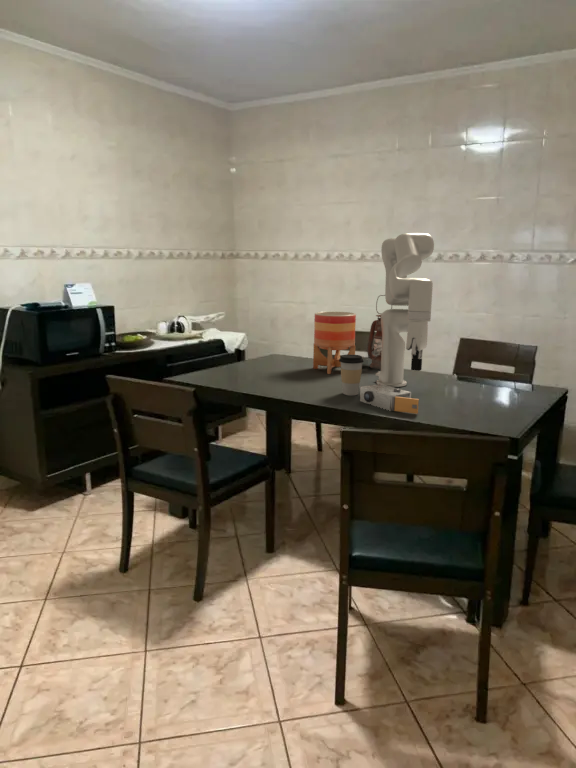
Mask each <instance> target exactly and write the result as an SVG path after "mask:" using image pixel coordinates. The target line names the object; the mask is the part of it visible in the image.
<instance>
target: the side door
mask: <svg viewBox="0 0 576 768" xmlns="http://www.w3.org/2000/svg"><path fill="white" fill-rule="evenodd" d="M419 400H420V399H419V398H412V397H411V398H405V397H395V396H392V411H393V412H400V413H407V414H408V413H409V414H416V415H417V414H418V413H419Z"/></svg>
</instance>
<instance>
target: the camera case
mask: <svg viewBox="0 0 576 768" xmlns="http://www.w3.org/2000/svg"><path fill="white" fill-rule="evenodd" d="M359 389H360V390H359V402H361V403H364V404H367V405H370V404H371V405H370V406H374V407H376V406H377V407H376V408H379V407H380V409H382V408H383V409H382V410H385V409H386V411H388V410H389V411H388V412H391V411H392V396H395V397H405V398H412V392H411V391H408V390H405V389H401V388H399V387H390V386H387V385H383V384H377V383H376V384H369V385H363V386H359Z"/></svg>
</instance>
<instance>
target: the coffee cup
mask: <svg viewBox="0 0 576 768" xmlns="http://www.w3.org/2000/svg"><path fill="white" fill-rule="evenodd" d="M339 361H340V362H341V367H340V376H341V377H340V379H341V380H340V381H341V384H342V385H341V386H342V387H341V388H342V394H343V395H346V396H357V395H359V392H360V390H359V389H360V383H361V377H362V372H363V371H362V370H363V363H364V359H363V356H362V355H360V354H355V355H351V354H349V355H347V354H341V355H340V359H339Z"/></svg>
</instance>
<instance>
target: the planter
mask: <svg viewBox="0 0 576 768" xmlns="http://www.w3.org/2000/svg"><path fill="white" fill-rule="evenodd" d="M356 320H357V314H356V313H355V312H350V311H319V312H315V313H314V322H313V323H314V327H313V329H314V330H313V331H314V333H313V362H312V363H313V365H312V366H313V367H312V369H313V370H318V369H319V366H325V367H327V370H326V372H327V374H328V375H331V374H332V369H333V368H335V367H336V368H341V362H340V361H339V359H340V358H341V351H345V350H349V351H348V353H347V354H346V355H349V354H351V355H356V345H355V343H356V326H357V325H356ZM321 349H322V350H326V351H327V356H325V354H323V353H322V351H321ZM333 351H335V353H334V357H333Z"/></svg>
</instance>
